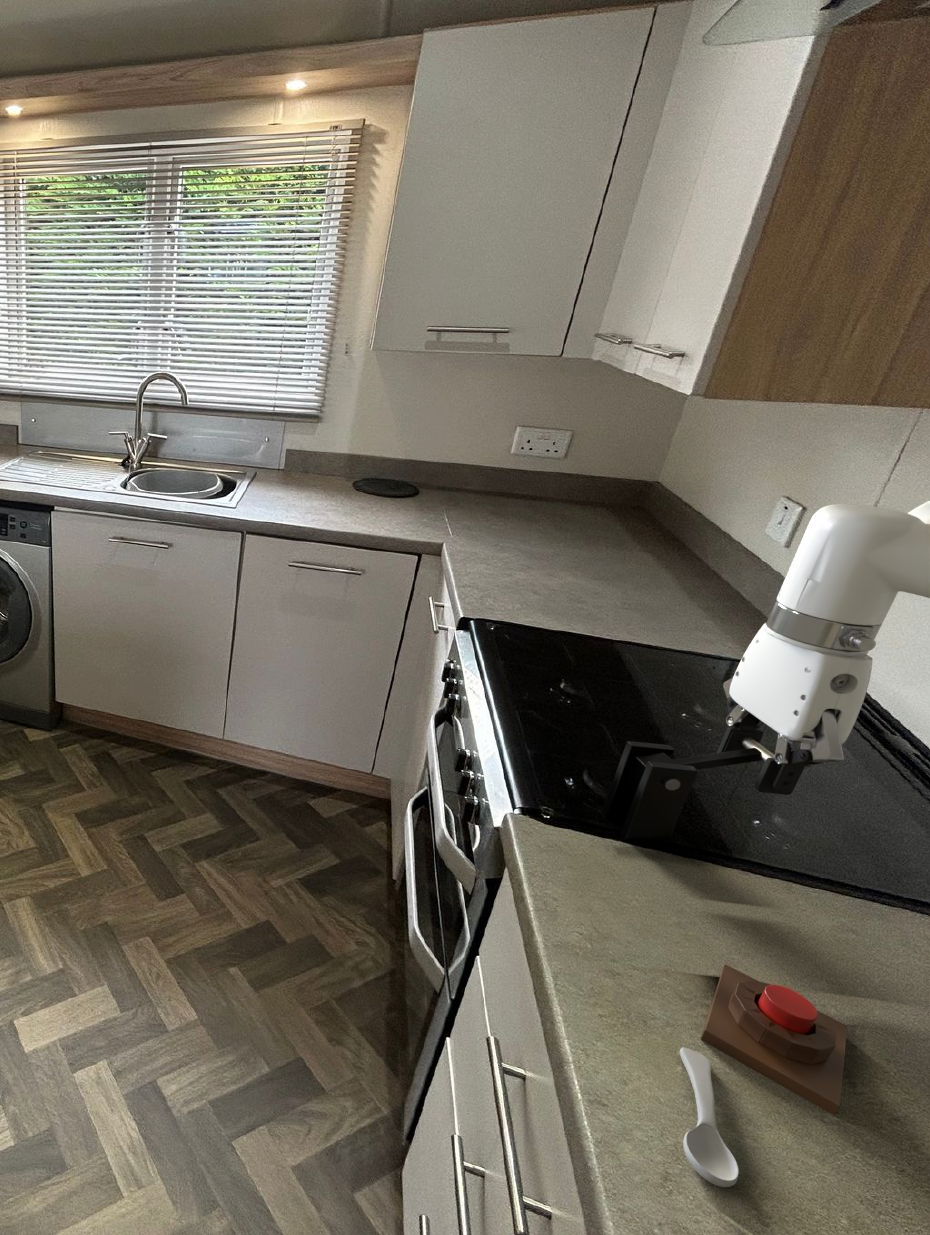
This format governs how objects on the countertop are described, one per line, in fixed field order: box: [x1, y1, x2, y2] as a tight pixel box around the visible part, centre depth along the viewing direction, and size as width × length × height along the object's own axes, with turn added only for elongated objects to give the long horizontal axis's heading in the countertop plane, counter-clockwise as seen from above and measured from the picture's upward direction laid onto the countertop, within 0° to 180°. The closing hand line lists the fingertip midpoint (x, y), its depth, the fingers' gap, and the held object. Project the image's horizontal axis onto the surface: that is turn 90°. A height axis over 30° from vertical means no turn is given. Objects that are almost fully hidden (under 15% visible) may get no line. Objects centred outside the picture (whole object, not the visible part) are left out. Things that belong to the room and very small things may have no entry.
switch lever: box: [636, 736, 775, 778], centre depth 78 cm, size 12×5×2 cm, turn 80°
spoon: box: [679, 1047, 740, 1188], centre depth 54 cm, size 3×12×2 cm, turn 144°
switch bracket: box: [600, 740, 699, 847], centre depth 81 cm, size 11×9×12 cm
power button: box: [758, 984, 818, 1034], centre depth 59 cm, size 3×3×2 cm
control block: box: [700, 963, 848, 1116], centre depth 60 cm, size 10×8×3 cm
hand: (752, 773), depth 77 cm, fingers closed on switch lever, 5 cm apart
